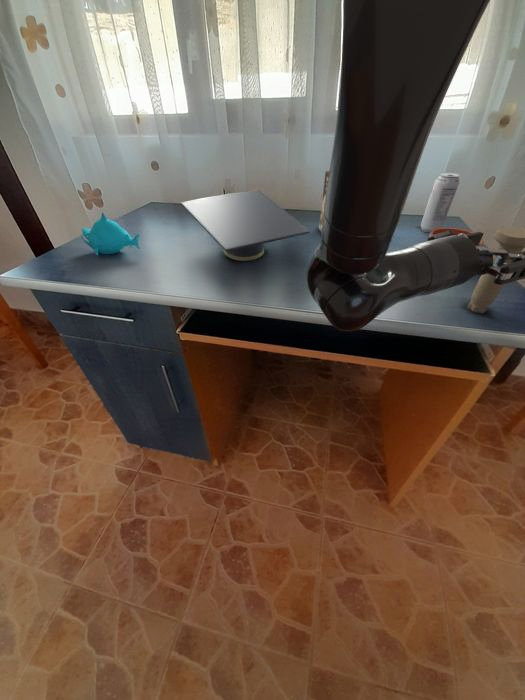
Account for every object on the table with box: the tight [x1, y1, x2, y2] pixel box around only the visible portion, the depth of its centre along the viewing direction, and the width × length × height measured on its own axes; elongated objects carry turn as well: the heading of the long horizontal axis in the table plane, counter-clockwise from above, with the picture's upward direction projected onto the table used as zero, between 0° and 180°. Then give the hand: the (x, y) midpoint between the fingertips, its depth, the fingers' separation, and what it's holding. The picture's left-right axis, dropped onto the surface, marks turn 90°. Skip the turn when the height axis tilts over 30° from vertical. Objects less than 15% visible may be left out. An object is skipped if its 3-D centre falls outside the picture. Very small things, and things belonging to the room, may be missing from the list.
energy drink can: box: [419, 172, 460, 234], centre depth 86 cm, size 6×6×15 cm
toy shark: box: [81, 211, 141, 256], centre depth 76 cm, size 10×18×11 cm, turn 72°
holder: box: [428, 227, 484, 247], centre depth 73 cm, size 11×11×6 cm
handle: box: [467, 226, 525, 314], centre depth 53 cm, size 5×6×15 cm
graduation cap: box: [180, 190, 311, 262], centre depth 77 cm, size 28×23×10 cm
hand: (503, 246), depth 49 cm, fingers open, 8 cm apart
